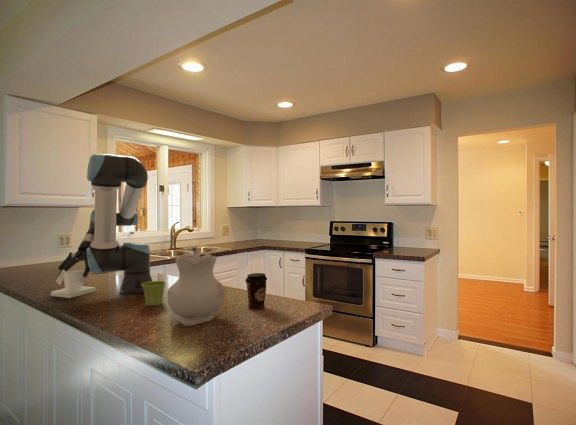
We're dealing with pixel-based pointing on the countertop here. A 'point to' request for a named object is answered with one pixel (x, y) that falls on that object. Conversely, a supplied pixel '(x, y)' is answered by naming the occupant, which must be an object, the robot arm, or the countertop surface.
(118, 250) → the robot arm
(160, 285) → the plant pot
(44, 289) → the countertop surface
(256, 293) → the coffee cup
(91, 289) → the coaster tray
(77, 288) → the white cup
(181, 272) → the ceramic pitcher
